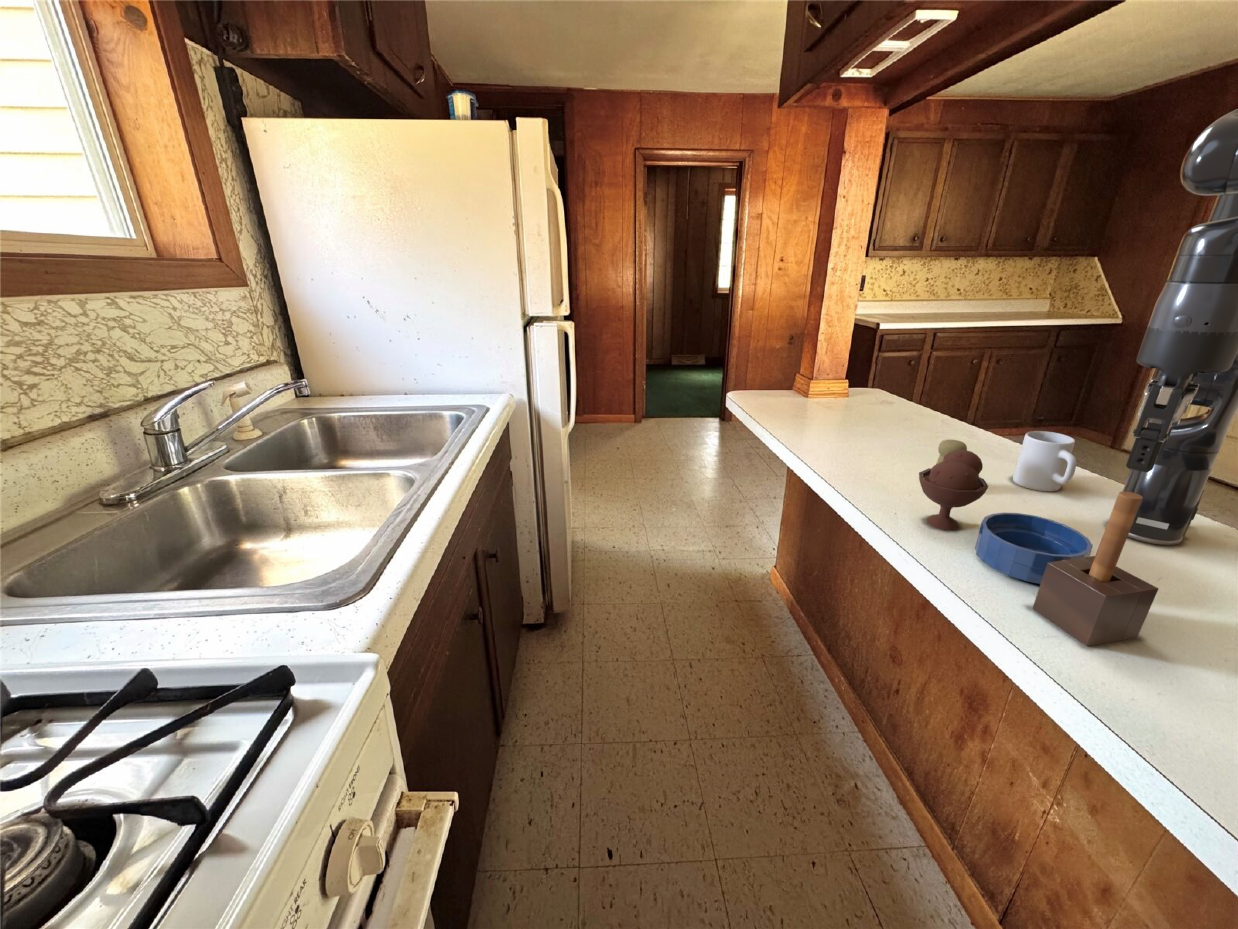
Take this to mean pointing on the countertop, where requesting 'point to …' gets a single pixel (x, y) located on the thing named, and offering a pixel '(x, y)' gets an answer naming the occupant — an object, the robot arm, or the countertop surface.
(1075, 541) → the blue round bowl
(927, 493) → the ice cream bowl
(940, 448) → the cork
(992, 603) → the countertop surface
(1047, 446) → the mug
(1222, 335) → the robot arm
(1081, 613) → the stand
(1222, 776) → the countertop surface
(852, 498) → the countertop surface
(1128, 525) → the stirring stick
